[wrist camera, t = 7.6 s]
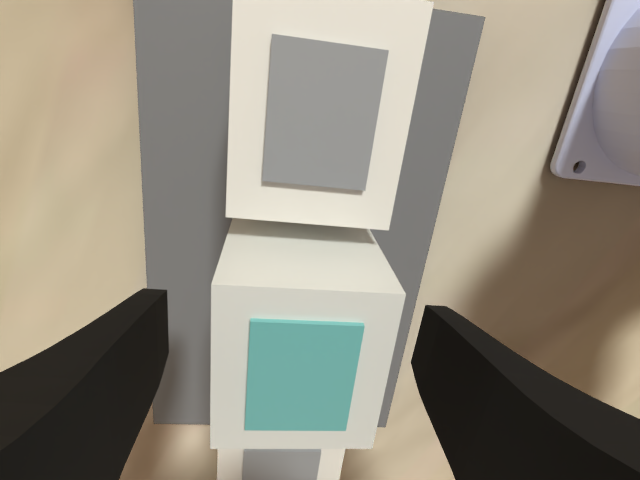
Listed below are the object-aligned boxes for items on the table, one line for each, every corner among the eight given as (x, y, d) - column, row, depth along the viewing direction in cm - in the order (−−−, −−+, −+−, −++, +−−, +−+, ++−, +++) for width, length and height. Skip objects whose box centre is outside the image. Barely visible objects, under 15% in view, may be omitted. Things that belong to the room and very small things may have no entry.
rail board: (471, 20, 14) (608, -16, 8) (380, 411, 21) (419, 544, 15) (142, -31, 13) (22, -119, 7) (159, 406, 19) (107, 552, 14)
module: (354, 201, 14) (407, 297, 8) (338, 308, 16) (373, 453, 10) (240, 192, 14) (210, 287, 8) (236, 304, 16) (209, 453, 10)
